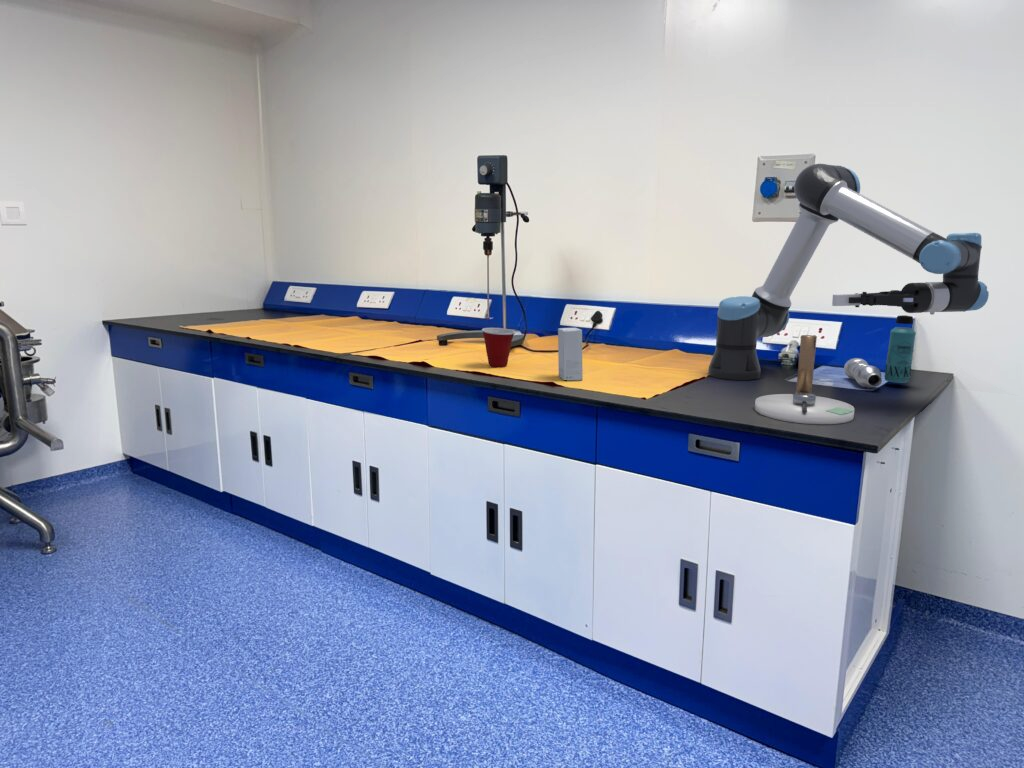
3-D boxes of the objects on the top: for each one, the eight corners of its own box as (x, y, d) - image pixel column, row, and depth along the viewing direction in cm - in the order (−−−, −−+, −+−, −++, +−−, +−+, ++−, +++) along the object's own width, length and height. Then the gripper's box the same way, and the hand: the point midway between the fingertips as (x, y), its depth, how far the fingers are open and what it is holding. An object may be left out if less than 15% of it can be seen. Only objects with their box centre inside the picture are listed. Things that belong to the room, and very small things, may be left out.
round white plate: (752, 418, 162) (753, 409, 162) (756, 398, 182) (757, 390, 182) (857, 428, 154) (858, 418, 154) (850, 406, 174) (851, 397, 174)
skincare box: (582, 380, 204) (584, 330, 201) (562, 381, 203) (563, 330, 200) (576, 375, 212) (577, 326, 209) (556, 375, 211) (557, 326, 208)
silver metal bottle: (865, 378, 209) (887, 392, 190) (840, 377, 210) (860, 391, 191) (867, 356, 208) (889, 369, 188) (843, 356, 209) (862, 368, 190)
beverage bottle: (878, 383, 201) (886, 314, 197) (900, 383, 202) (908, 314, 198) (892, 388, 195) (900, 316, 191) (914, 388, 195) (923, 316, 191)
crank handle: (816, 414, 157) (822, 348, 154) (792, 412, 159) (798, 346, 156) (814, 394, 177) (819, 335, 173) (792, 392, 178) (797, 334, 175)
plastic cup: (507, 370, 219) (508, 332, 217) (476, 367, 223) (476, 330, 221) (520, 364, 229) (520, 328, 227) (489, 362, 233) (489, 326, 231)
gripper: (940, 314, 169) (848, 317, 167) (904, 310, 182) (818, 313, 179) (942, 283, 168) (850, 285, 165) (906, 281, 181) (820, 284, 178)
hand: (834, 300), depth 172 cm, fingers closed
